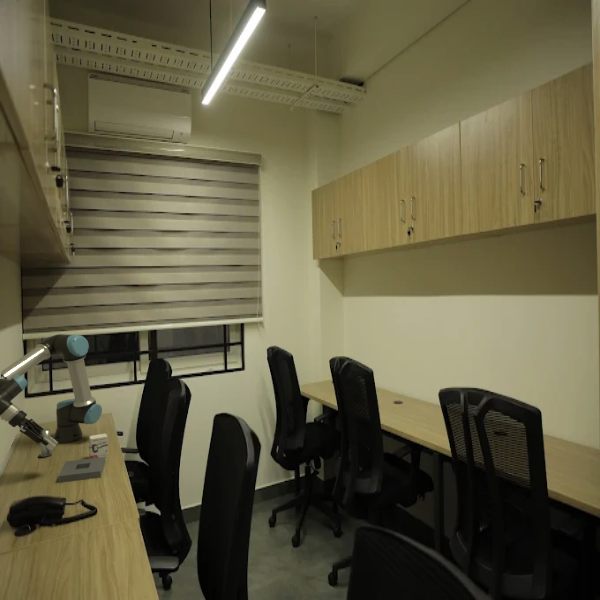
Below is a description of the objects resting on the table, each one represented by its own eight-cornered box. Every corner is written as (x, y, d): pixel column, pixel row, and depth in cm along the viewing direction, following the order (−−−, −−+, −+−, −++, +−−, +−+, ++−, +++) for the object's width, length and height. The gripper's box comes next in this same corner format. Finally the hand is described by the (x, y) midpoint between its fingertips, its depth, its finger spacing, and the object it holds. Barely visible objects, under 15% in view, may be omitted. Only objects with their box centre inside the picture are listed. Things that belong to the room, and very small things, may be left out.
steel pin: (42, 454, 211) (41, 429, 210) (51, 453, 212) (50, 428, 212) (40, 457, 207) (39, 432, 207) (49, 456, 208) (48, 431, 208)
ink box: (90, 461, 227) (90, 438, 226) (89, 458, 231) (88, 436, 230) (108, 457, 231) (108, 435, 231) (106, 454, 235) (106, 433, 235)
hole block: (66, 467, 219) (66, 461, 219) (105, 462, 225) (105, 456, 224) (58, 482, 202) (58, 476, 202) (100, 477, 207) (100, 471, 207)
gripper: (13, 416, 212) (52, 446, 218) (1, 427, 196) (44, 459, 202) (25, 405, 214) (64, 434, 219) (14, 415, 198) (56, 446, 203)
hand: (54, 446), depth 211 cm, fingers closed on steel pin, 4 cm apart
